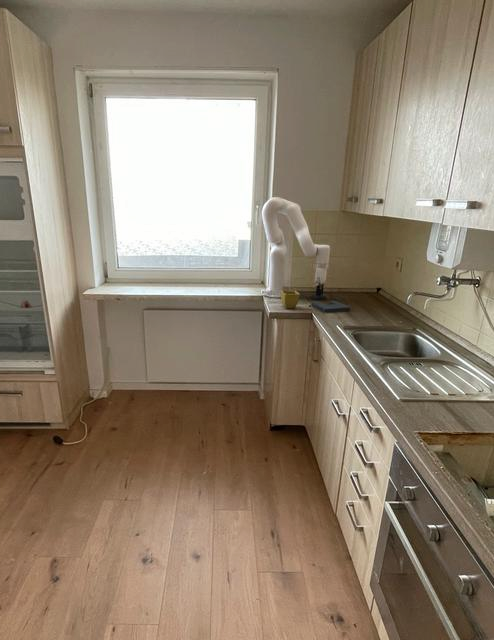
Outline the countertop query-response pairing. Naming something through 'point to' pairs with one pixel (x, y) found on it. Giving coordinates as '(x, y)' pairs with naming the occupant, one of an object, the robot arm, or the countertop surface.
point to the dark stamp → (319, 296)
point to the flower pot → (289, 298)
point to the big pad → (331, 306)
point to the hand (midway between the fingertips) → (319, 294)
